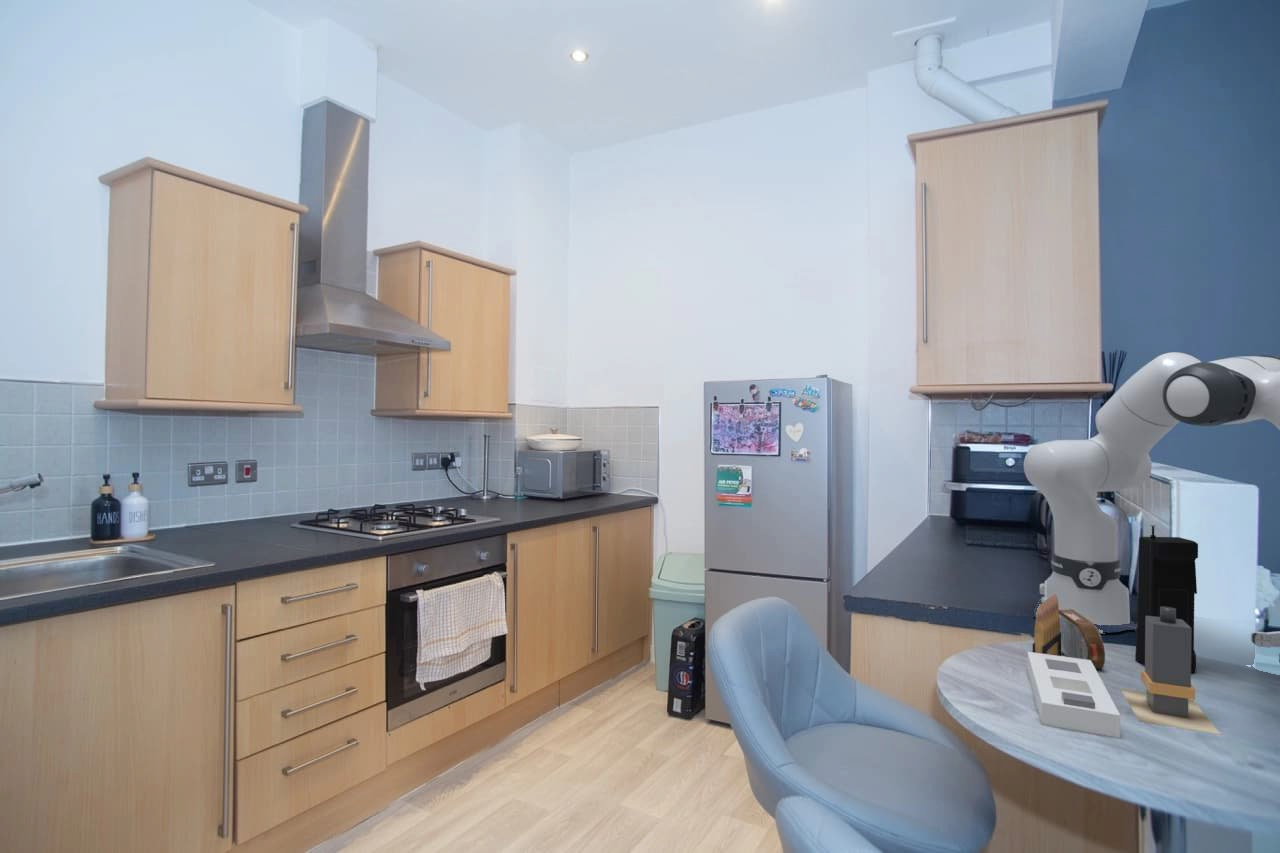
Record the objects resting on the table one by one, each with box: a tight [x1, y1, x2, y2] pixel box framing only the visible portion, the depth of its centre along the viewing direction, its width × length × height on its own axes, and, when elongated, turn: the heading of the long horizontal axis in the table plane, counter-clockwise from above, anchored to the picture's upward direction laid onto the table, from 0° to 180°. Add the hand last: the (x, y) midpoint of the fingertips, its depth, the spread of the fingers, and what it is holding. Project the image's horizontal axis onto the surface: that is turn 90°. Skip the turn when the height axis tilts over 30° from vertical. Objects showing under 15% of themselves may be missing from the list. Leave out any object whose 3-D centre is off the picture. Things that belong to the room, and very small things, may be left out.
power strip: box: [1026, 651, 1121, 739], centre depth 100 cm, size 22×9×5 cm, turn 154°
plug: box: [1140, 606, 1196, 718], centre depth 96 cm, size 5×5×15 cm
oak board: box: [1120, 688, 1222, 735], centre depth 96 cm, size 12×9×1 cm
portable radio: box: [1134, 524, 1199, 674], centre depth 115 cm, size 8×6×25 cm
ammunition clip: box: [1032, 594, 1062, 656], centre depth 116 cm, size 11×2×12 cm, turn 134°
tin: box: [1059, 609, 1106, 670], centre depth 118 cm, size 15×3×8 cm, turn 168°
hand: (1266, 648), depth 91 cm, fingers open, 8 cm apart
